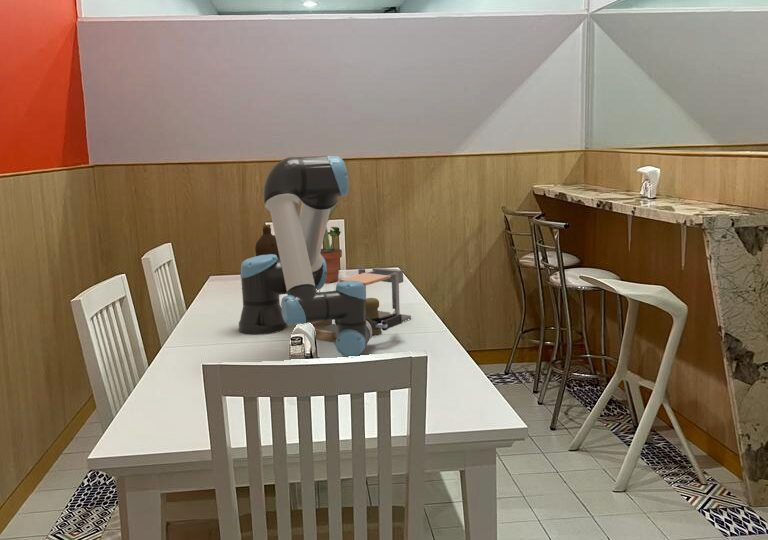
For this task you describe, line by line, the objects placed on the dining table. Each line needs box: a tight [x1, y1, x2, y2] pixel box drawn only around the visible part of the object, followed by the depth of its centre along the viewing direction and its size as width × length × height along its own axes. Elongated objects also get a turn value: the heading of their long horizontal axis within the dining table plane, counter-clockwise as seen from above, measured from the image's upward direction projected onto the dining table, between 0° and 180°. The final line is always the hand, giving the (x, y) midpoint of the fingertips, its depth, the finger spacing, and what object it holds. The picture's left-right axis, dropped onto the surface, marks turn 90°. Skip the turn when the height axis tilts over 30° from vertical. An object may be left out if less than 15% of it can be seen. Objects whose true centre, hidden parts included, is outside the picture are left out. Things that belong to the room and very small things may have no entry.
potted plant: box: [320, 204, 343, 284], centre depth 316 cm, size 16×15×35 cm
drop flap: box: [338, 267, 404, 287], centre depth 242 cm, size 19×12×4 cm, turn 141°
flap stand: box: [357, 268, 412, 323], centre depth 246 cm, size 9×17×16 cm, turn 51°
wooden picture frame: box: [311, 320, 336, 342], centre depth 231 cm, size 15×14×2 cm
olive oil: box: [254, 224, 280, 259], centre depth 316 cm, size 11×11×25 cm
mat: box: [318, 323, 338, 338], centre depth 232 cm, size 13×13×1 cm
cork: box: [366, 297, 382, 337], centre depth 229 cm, size 6×6×11 cm
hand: (372, 313), depth 229 cm, fingers open, 13 cm apart
